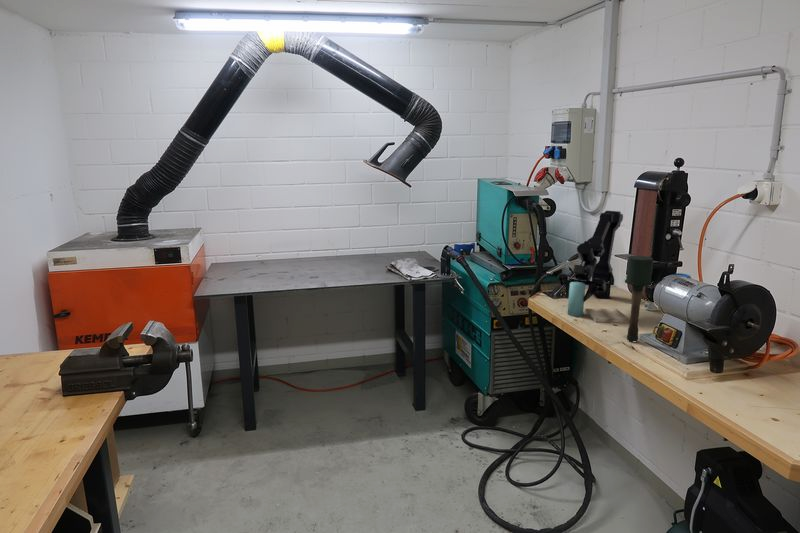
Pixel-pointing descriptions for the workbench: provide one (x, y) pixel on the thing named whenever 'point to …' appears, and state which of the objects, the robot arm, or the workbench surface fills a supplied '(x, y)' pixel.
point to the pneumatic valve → (650, 305)
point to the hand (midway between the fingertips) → (575, 299)
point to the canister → (576, 299)
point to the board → (606, 315)
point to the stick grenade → (637, 288)
